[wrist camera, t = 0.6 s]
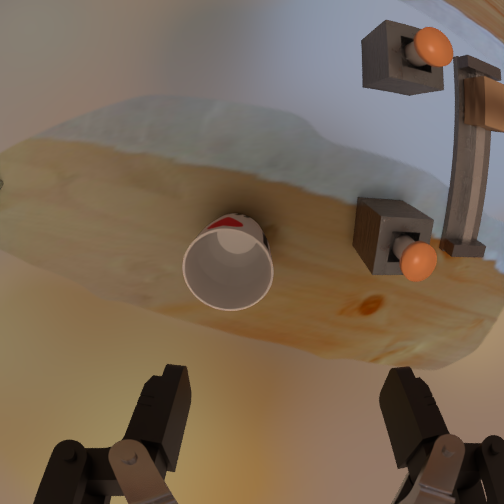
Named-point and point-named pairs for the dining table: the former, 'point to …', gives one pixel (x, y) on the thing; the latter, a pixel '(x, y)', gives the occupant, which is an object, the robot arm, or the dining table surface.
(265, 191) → the dining table surface
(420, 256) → the plunger
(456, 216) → the rail
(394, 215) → the cabinet
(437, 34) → the plunger
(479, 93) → the carriage
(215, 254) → the cup
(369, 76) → the cabinet
